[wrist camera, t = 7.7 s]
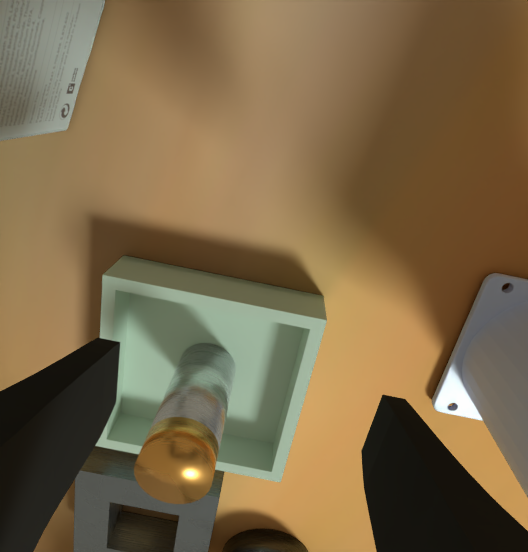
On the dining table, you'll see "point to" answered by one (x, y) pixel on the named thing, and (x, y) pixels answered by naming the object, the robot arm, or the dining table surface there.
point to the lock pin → (188, 427)
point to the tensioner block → (148, 530)
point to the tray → (220, 331)
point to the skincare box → (43, 62)
